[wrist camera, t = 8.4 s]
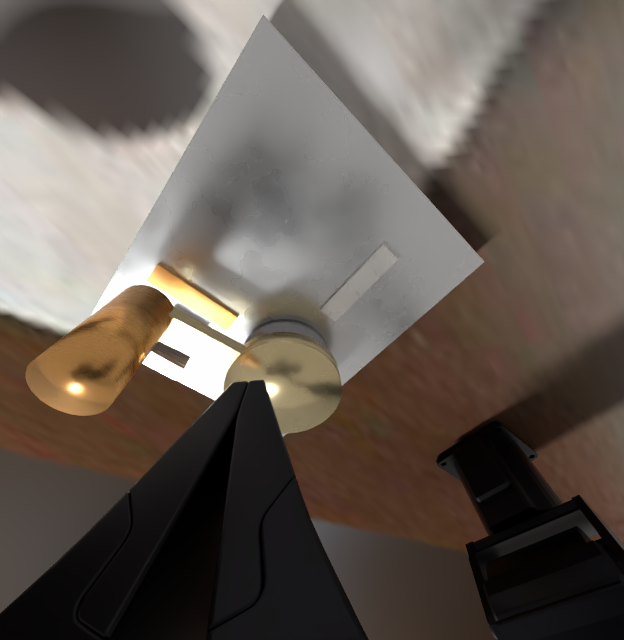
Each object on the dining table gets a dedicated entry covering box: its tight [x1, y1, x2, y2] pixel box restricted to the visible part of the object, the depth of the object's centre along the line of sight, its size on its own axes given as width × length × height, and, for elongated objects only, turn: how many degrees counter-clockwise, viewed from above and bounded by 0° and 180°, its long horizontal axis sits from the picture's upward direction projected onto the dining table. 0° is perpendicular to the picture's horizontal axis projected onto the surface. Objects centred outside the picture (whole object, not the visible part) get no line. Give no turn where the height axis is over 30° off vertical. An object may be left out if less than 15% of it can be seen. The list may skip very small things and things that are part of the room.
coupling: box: [26, 285, 342, 434], centre depth 14 cm, size 12×6×6 cm, turn 54°
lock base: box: [91, 15, 484, 437], centre depth 16 cm, size 15×18×4 cm
